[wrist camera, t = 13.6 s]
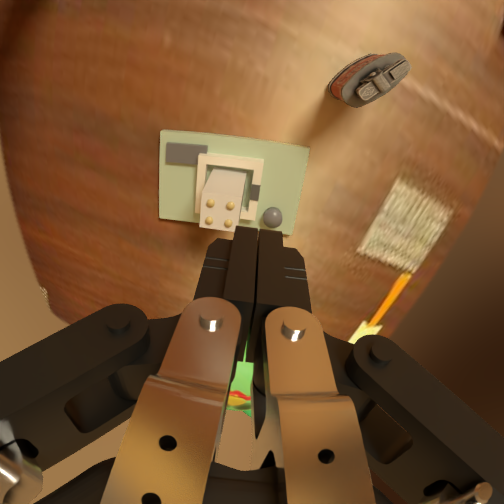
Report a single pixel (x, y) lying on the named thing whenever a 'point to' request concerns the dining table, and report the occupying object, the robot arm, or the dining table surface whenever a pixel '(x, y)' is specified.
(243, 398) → the toy bird
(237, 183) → the plug
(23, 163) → the dining table surface
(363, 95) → the lighter
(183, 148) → the board
